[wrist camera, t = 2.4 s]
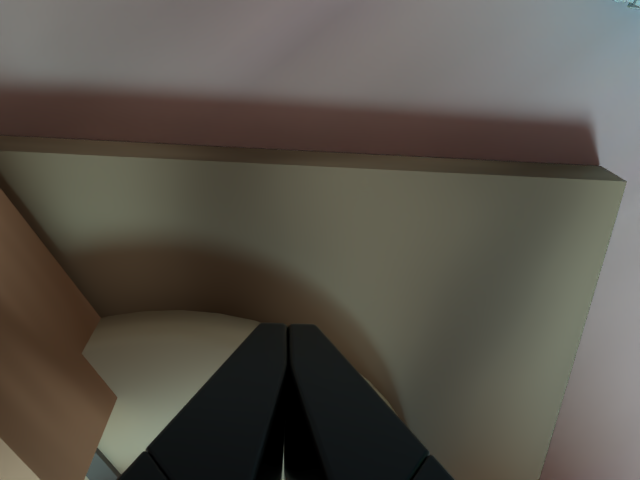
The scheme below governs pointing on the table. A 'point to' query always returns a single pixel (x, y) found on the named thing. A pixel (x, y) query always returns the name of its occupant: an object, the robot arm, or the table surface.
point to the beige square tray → (350, 266)
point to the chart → (632, 3)
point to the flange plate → (90, 367)
